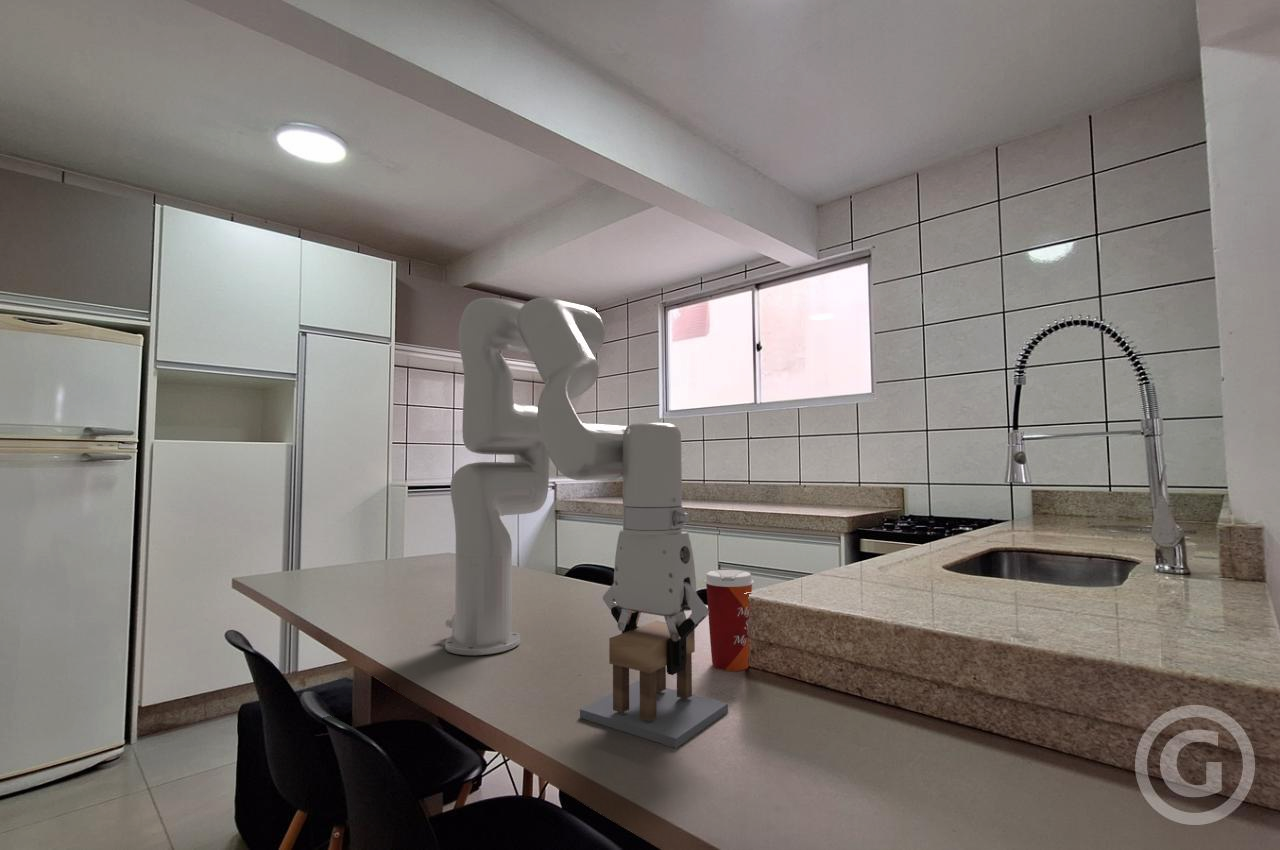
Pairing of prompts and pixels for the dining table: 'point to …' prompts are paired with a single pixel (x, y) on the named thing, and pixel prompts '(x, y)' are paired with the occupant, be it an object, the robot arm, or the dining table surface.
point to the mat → (658, 715)
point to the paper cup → (729, 618)
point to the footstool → (646, 666)
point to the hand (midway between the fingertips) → (653, 664)
